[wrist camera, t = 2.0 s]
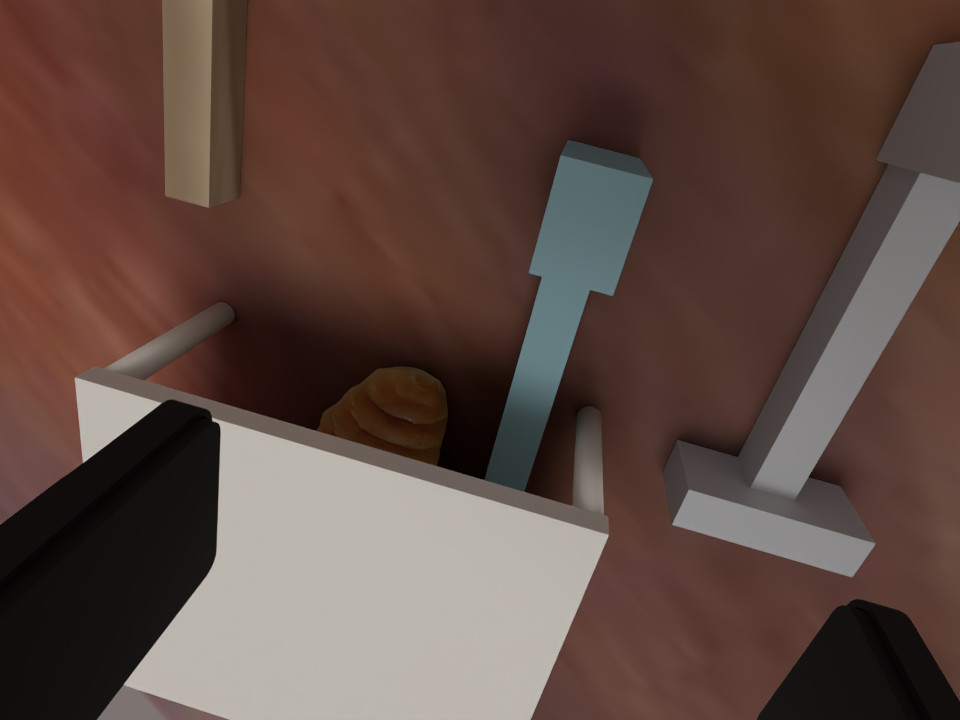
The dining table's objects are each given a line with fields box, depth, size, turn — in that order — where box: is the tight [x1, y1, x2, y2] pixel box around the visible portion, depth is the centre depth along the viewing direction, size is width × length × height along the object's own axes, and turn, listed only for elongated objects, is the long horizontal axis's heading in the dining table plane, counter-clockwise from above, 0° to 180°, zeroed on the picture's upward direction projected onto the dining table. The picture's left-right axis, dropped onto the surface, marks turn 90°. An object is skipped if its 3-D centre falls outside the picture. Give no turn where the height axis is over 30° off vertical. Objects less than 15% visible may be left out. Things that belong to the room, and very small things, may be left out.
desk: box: [75, 302, 609, 720], centre depth 30 cm, size 20×18×9 cm
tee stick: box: [663, 42, 960, 577], centre depth 23 cm, size 8×20×6 cm, turn 167°
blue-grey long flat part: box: [484, 140, 653, 492], centre depth 28 cm, size 12×26×6 cm, turn 167°
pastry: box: [317, 366, 448, 466], centre depth 30 cm, size 9×7×4 cm
